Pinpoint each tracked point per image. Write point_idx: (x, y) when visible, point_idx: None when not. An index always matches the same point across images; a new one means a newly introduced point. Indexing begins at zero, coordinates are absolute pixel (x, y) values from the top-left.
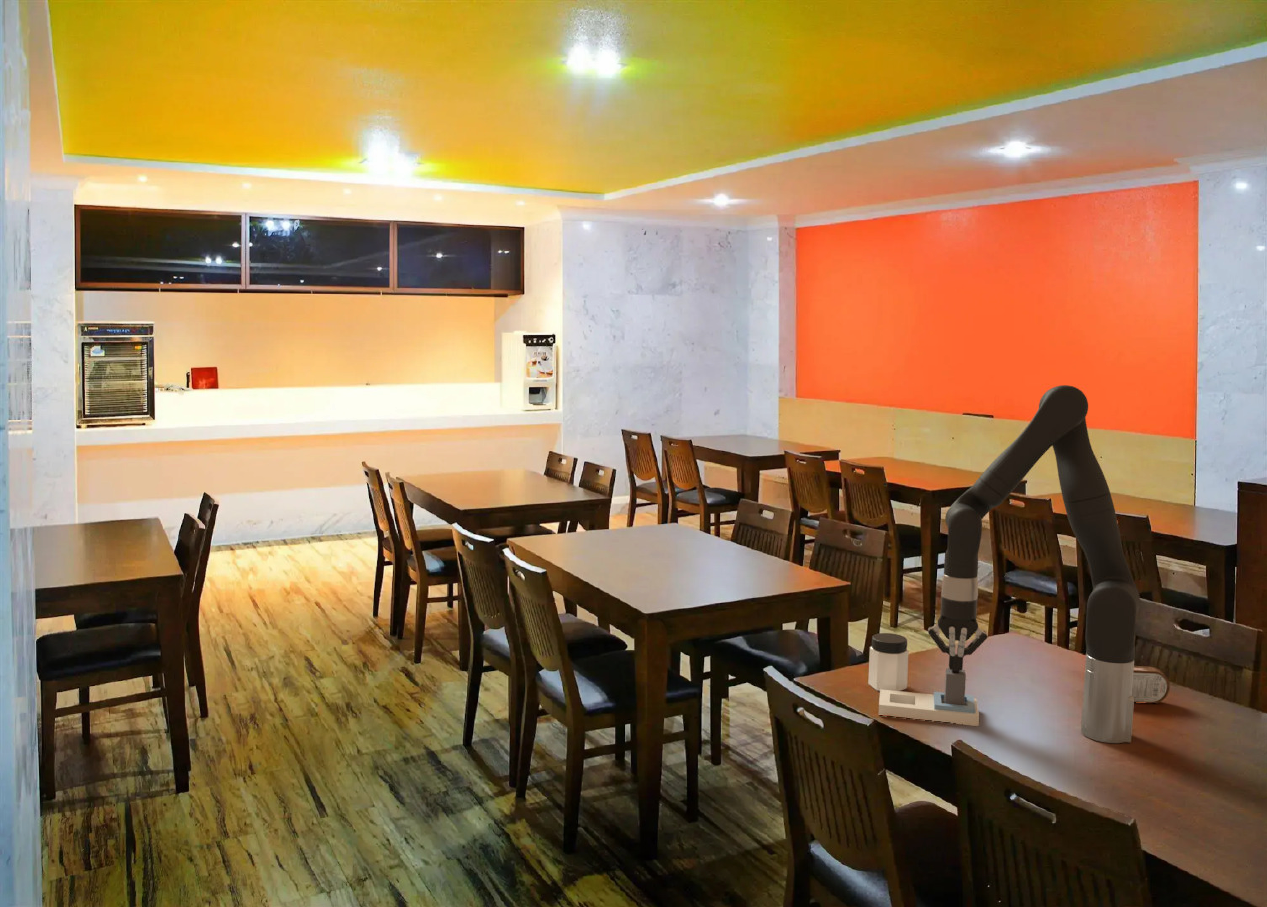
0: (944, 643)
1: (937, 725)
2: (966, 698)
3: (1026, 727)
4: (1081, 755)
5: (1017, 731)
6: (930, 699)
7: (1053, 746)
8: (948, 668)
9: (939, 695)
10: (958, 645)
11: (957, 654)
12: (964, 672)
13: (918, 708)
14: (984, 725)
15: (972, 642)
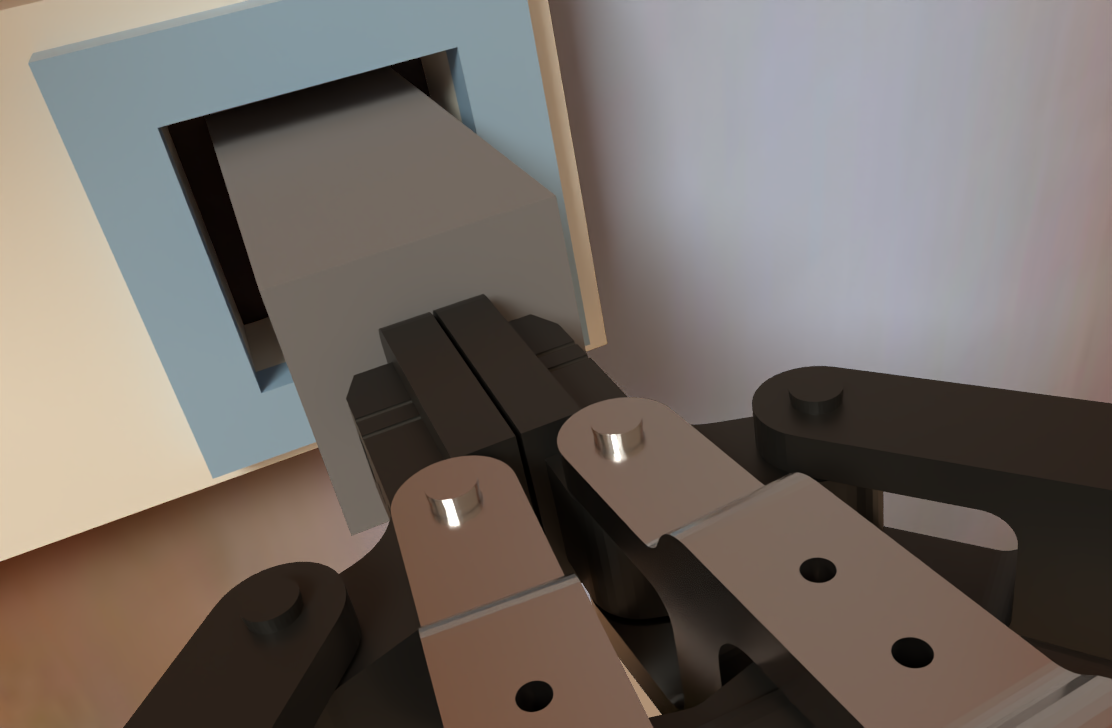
0: (312, 710)
1: (270, 483)
2: (456, 56)
3: (887, 115)
4: (1104, 381)
5: (826, 235)
6: (56, 208)
7: (998, 350)
8: (306, 288)
9: (157, 176)
10: (648, 571)
11: (578, 567)
12: (569, 323)
13: (58, 532)
14: (607, 259)
15: (1001, 514)
